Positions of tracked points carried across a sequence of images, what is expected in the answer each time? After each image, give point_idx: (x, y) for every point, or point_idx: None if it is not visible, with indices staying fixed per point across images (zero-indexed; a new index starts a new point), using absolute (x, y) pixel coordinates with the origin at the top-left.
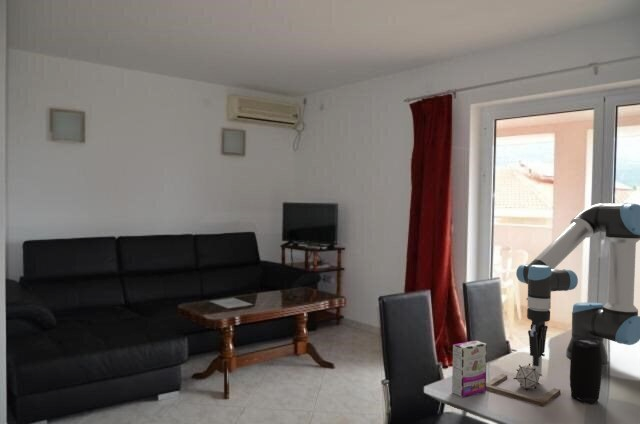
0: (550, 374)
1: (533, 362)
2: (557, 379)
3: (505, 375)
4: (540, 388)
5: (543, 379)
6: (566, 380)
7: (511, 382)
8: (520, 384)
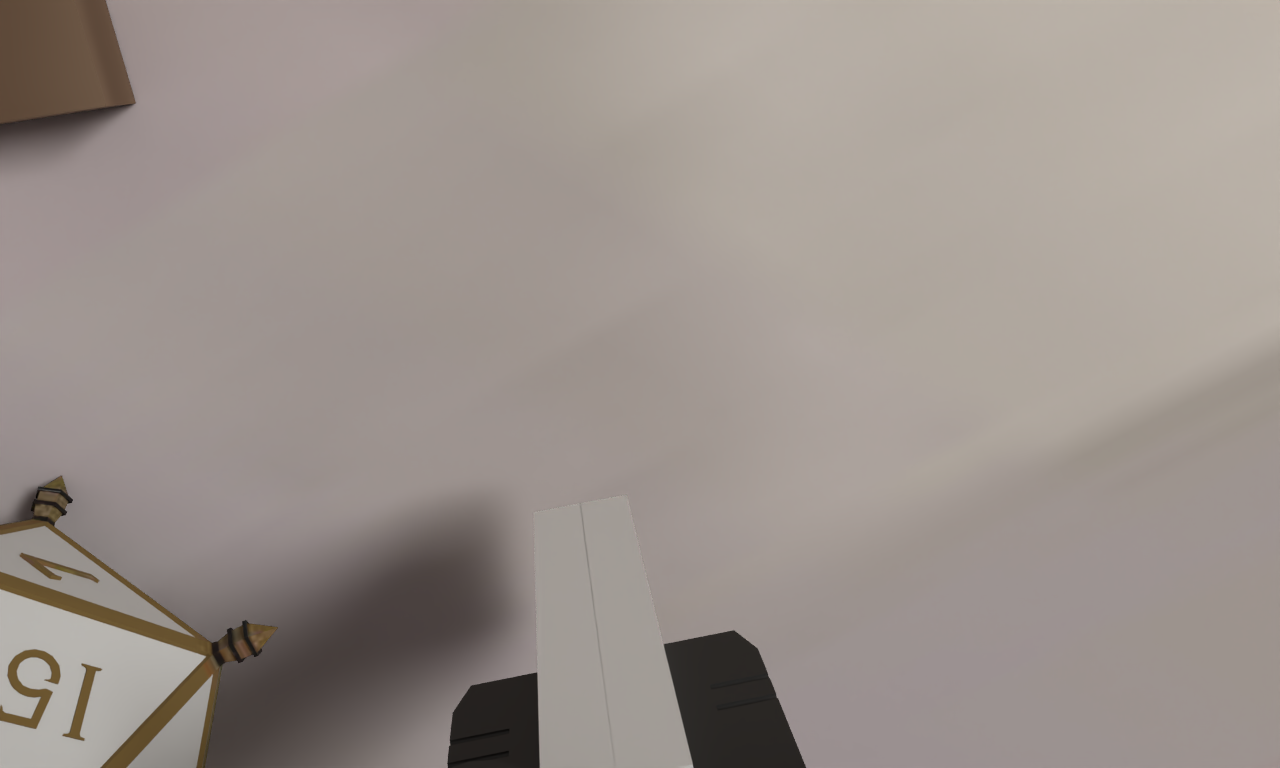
0: (1153, 459)
1: (451, 752)
2: (985, 652)
3: (39, 89)
4: (289, 743)
5: (780, 534)
6: (1055, 744)
7: (18, 295)
8: (35, 504)
